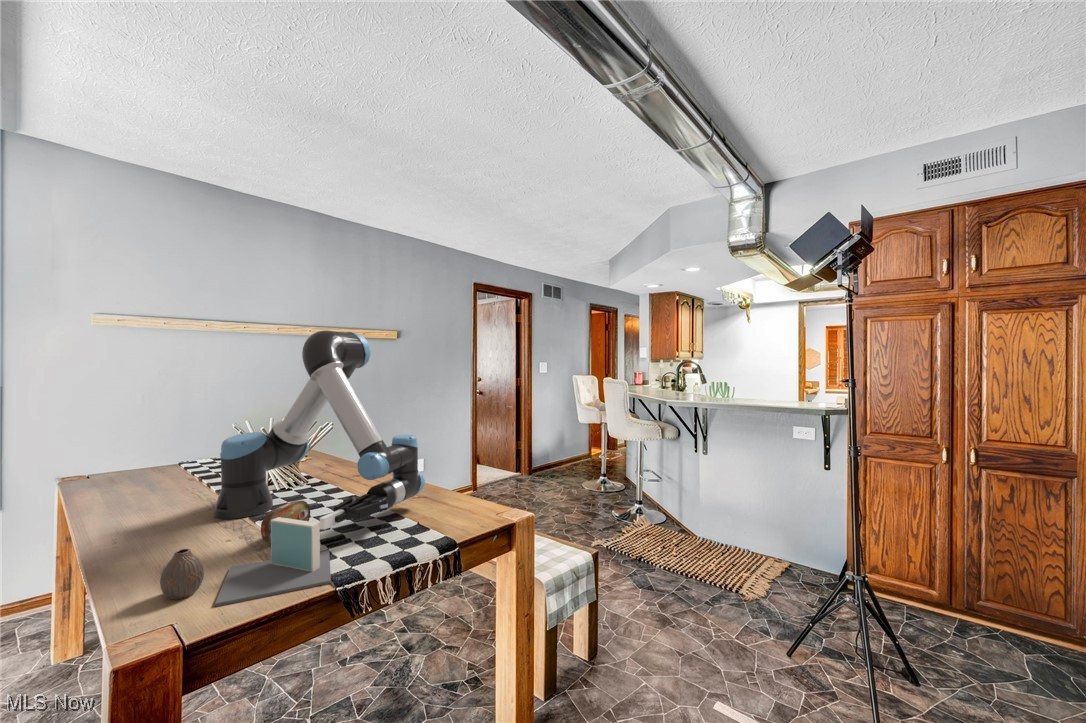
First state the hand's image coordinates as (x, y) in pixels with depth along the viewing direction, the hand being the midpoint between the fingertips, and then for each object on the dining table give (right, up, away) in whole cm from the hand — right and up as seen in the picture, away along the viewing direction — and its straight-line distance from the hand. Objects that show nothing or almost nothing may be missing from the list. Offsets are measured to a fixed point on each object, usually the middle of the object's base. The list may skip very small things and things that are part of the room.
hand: (322, 523), depth 109 cm
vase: (-19, -8, -18) cm, 27 cm away
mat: (-4, -8, -11) cm, 14 cm away
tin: (-15, -8, +11) cm, 20 cm away
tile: (-3, -2, -7) cm, 8 cm away
